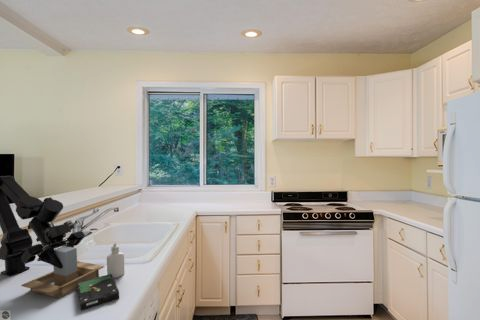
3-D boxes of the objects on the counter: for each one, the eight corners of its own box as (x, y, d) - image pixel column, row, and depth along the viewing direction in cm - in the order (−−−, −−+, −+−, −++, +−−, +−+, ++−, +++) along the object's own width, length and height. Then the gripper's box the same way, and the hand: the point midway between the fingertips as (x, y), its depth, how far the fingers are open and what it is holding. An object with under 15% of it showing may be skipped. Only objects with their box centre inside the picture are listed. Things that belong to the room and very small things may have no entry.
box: (54, 284, 88) (52, 250, 88) (65, 279, 92) (64, 246, 91) (66, 287, 86) (65, 252, 85) (77, 282, 90) (76, 248, 89)
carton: (21, 294, 82) (21, 285, 82) (77, 268, 100) (77, 260, 100) (51, 302, 77) (50, 292, 77) (104, 274, 95) (104, 266, 95)
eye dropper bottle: (111, 273, 96) (109, 241, 96) (126, 272, 96) (125, 240, 96) (105, 278, 92) (104, 245, 91) (121, 278, 92) (120, 245, 91)
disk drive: (120, 300, 79) (111, 280, 91) (120, 291, 79) (111, 272, 91) (80, 313, 73) (76, 290, 85) (80, 303, 73) (76, 282, 85)
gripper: (25, 222, 81) (50, 262, 77) (80, 209, 98) (103, 241, 95) (10, 244, 84) (34, 283, 80) (67, 228, 101) (88, 259, 98)
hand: (68, 265), depth 88 cm, fingers closed on box, 4 cm apart
